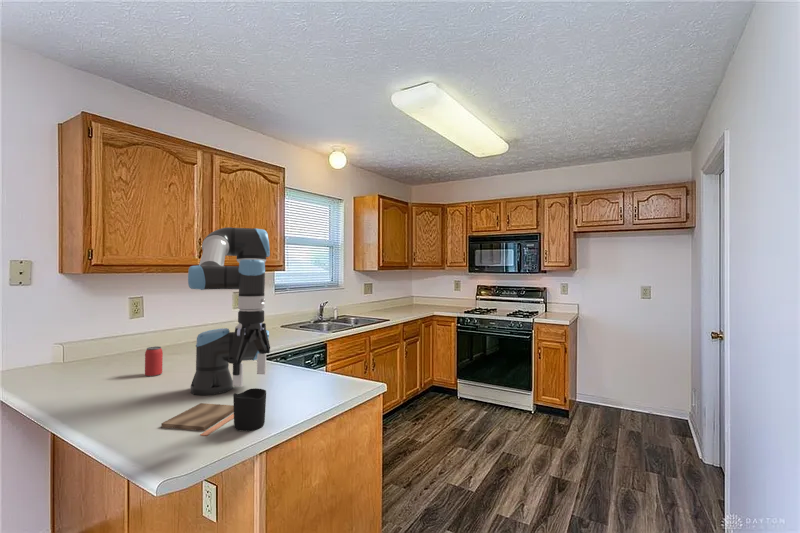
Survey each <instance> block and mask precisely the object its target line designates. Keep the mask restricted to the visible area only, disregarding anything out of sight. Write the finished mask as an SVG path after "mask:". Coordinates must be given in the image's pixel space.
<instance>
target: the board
mask: <svg viewBox="0 0 800 533" xmlns="http://www.w3.org/2000/svg"><path fill="white" fill-rule="evenodd" d="M233 413H234V404H233V405H232V404H219V403H218V404H217V403H207V402H206V403H204V402H203V403H202V402H200V403H198V404H195V405H194V406H192V407H191V408H188V409H187V410H185V411H182V412H181V413H179V414H177V415H175V416H173V417H171V418H169V419H167V420H165V421H163V422H162V423H161V428H165V429H175V430H176V429H177V430H188V431H189V430H190V431H200V432H205V431H207V430H208V429H210V428H211V427H213V426H214V425H216V424H218V423H219V422H221V421H222V420H224V419H226V418H227V417H229V416H230V415H232V414H233Z"/></svg>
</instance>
